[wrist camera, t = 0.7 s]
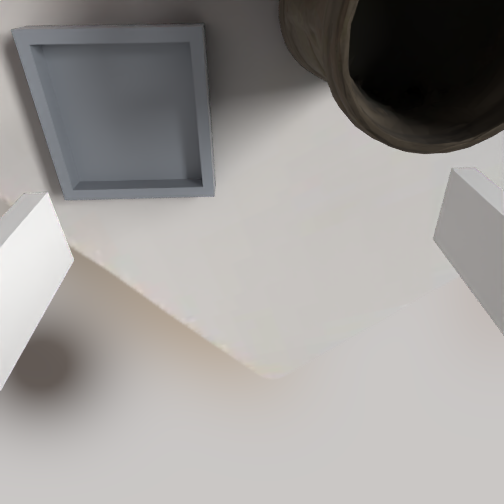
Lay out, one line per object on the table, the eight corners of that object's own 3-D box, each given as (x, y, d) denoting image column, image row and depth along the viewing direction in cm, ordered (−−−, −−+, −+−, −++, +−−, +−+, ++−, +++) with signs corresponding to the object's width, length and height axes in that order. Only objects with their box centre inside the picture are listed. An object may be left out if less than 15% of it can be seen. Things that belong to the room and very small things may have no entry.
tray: (25, 26, 31) (10, 29, 29) (204, 23, 31) (202, 26, 29) (74, 188, 39) (65, 200, 37) (215, 185, 39) (214, 196, 37)
